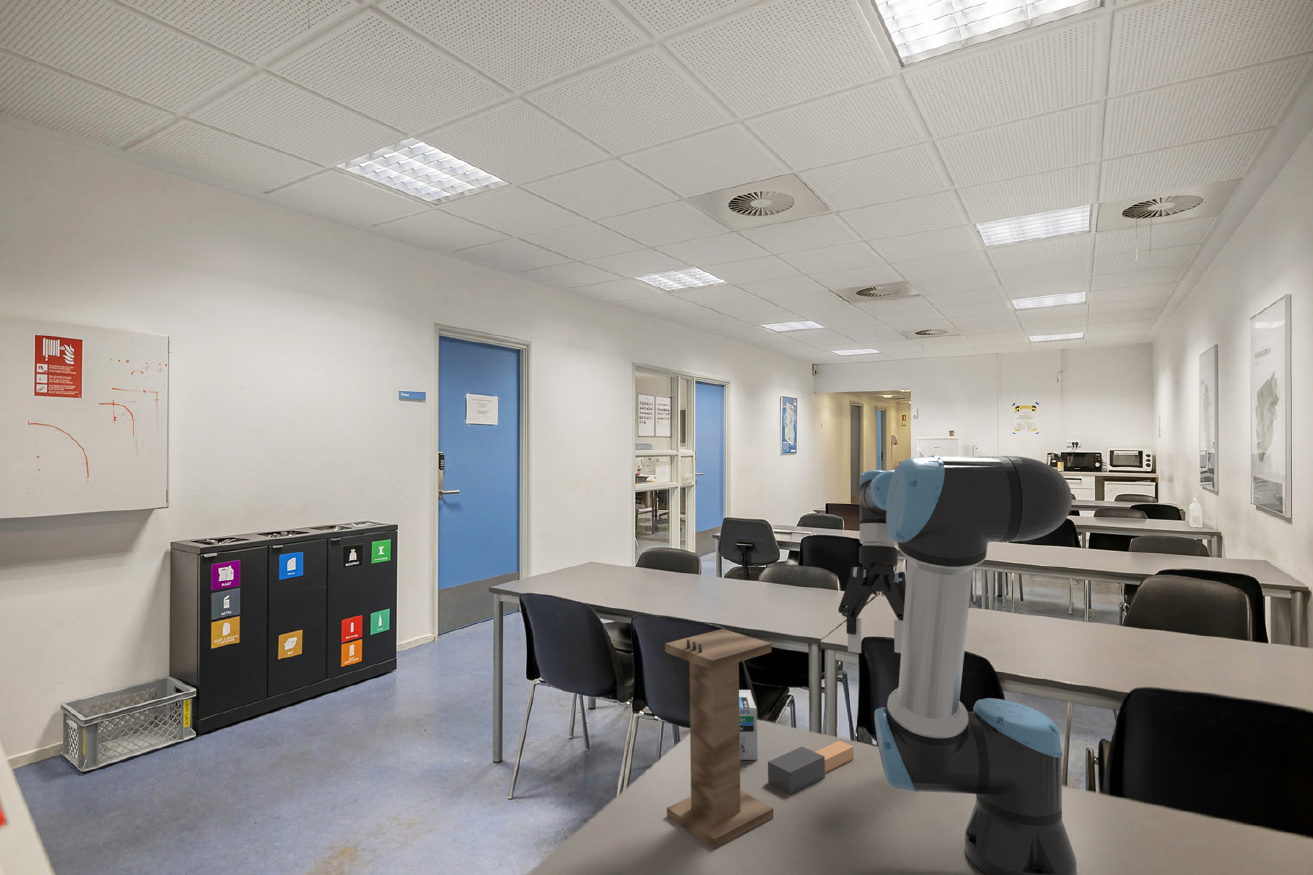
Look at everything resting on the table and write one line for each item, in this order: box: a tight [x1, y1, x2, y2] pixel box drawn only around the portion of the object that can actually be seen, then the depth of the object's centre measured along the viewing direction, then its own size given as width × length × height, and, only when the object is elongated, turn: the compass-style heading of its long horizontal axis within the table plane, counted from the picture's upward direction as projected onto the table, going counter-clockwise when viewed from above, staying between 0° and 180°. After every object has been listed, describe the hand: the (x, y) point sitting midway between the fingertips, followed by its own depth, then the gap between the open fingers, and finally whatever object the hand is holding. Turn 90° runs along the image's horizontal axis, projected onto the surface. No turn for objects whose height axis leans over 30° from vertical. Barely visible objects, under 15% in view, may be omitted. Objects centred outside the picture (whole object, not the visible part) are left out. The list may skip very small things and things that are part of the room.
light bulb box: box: [739, 689, 759, 761], centre depth 141 cm, size 11×7×11 cm, turn 179°
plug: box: [767, 740, 855, 795], centre depth 131 cm, size 6×20×4 cm, turn 128°
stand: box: [664, 628, 774, 849], centre depth 116 cm, size 12×14×31 cm
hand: (878, 652), depth 133 cm, fingers open, 13 cm apart
